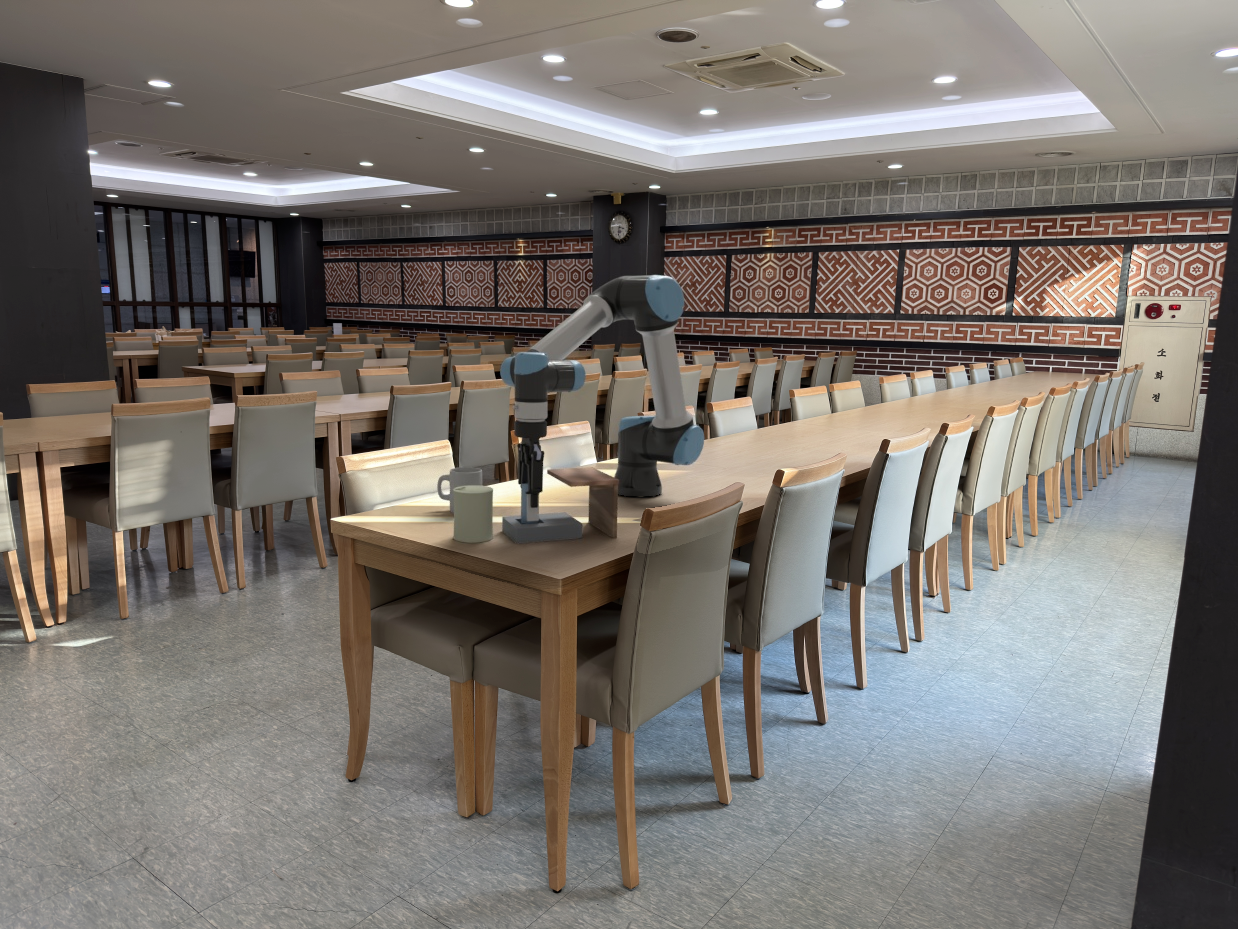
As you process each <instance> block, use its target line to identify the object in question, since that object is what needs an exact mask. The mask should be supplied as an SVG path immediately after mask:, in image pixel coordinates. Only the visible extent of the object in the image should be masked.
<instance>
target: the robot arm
mask: <svg viewBox="0 0 1238 929" xmlns="http://www.w3.org/2000/svg"><path fill="white" fill-rule="evenodd" d="M684 307H685V296H684V291H683V290H682V287H681V286H680V284H679V283H678V281H677V280H675V279H674V278H673V277H671V276H669V275H662V274H661V275H660V274H651V275H649V274H648V275H647V274H646V275H622V276H619V277H616V278H614V279H612V280H610V281H608V282H606V283H605V284H603V285H601V286H599V287H598V288H597V289H595V290H594V291H593V292H591V293H590V294H589V295H588V296H587V297H585V298H584V300H583V305H582V306H580V307H579V308H578V309H577V310H576V311H574V312H573V313H572V314H571V315H570V316H568V317H567V318H566V319H565V320H563V321H562V322H561V323H560V324H558V325H557V326H556V327H555V328H554V329H552V330H551V331H550V332H549V333H547V334H546V335H545V336H544V337H542V338H541V339H540V340H539V341H538V342H536V343H535V344H534V345H533V346H531V347H530V348H529V349H528V350H526V351H520V352H518V353H516V355H514V356H509V357H507V358H505V359H504V360H503V361H502V363H501V366H500V369H499V371H500V373H499V374H500V377H501V380H502V381H503V383H504V384H505V385H507V386H509V387H513V388H514V405H512V410H513V411H514V418H515V419H516V420H515V421H514V424H513V425H514V427H513V428H514V432H513V433H514V436H515V437H517V438H521V442H519V443H517V445H516V446H517V447H516V448H517V465H518V466H517V470H518V472H517V473H518V474H517V477H518V478H517V479H518V480H517V483H518V485H519V487H520V488H521V484H524V483H528V492H525V493H526V494H527V521H539V514H540V493H543V485H544V484H543V482H544V459H545V451H544V450H542V447H541V446H542V445H541V442H540V439H541V438H542V439H543V438H545V437H547V435H548V422H547V421H546V419H547V418H548V394H549V393H566V392H567V393H571V392H574V391H579V390H580V389H581V388H583V386H584V384H585V382H586V378H587V377H586V370H585V367H584V366H583V364H582V363H581V362H579V361H578V360H573V359H566V358H567V357H568V356H569V355H570V354H571V353H573V352H574V351H575V350H577V348H579V346H581V345H582V344H583V343H585V341H587V340H588V339H589V338H590V337H592V336H593V335H594V334H595V333H597V331H599V330H600V329H601V328H607V327H609V326H610V325H611V324H613V323H615V322H617V321H623V320H630V321H633V322H634V329H635V331H636V332H637V333H639V334H640V335H641V337H642V342H643V347H644V353H645V359H646V363H647V371H648V375H649V376H648V377H649V382H650V383H649V384H650V387H651V388H650V389H651V394H652V400H653V405H654V406H653V407H654V412H655V415H654V414H653V415H651V414H650V415H635V416H626V417H622V418H620V420H619V424H618V431H617V434H618V435H617V437H618V441H617V442H618V443H617V444H618V445H617V446H618V447H617V450H618V451H617V468H616V471H615V474H614V476H613V477H614V478H616V479H618V480H619V484H618V494H619V495H618V496H620V495H624V496H623V497H626V496H653V497H656V496H655V495H658V496H660V495H661V493H662V492H663V486H662V482H661V479H660V475H659V470H658V462H660V463H667V464H672V465H675V466H690V465H693V464H694V463H695V462H697V460H698V459H699V457H700V455H702V454H701V453H702V451H703V448H704V446H705V434H704V430H703V428H701V426H699V425H696V424H694V418H693V414H691V412H689V411H687V407H686V401H685V395H684V389H683V388H684V387H683V383H682V382H683V381H682V375H681V369H680V362H679V356H678V349H677V343H676V336H675V331H674V330H675V328H676V327H677V326H678V324H679V318H681V317H682V314H683V313H684V309H683V308H684ZM564 359H565V360H564ZM659 494H660V495H659ZM662 494H663V493H662Z"/></svg>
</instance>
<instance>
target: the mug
mask: <svg viewBox="0 0 1238 929" xmlns="http://www.w3.org/2000/svg"><path fill="white" fill-rule="evenodd" d="M444 481H447V482H449V493H448V494H447V493H446V494H445V493H444V492H443V490H442V484H443V482H444ZM436 485H437V487H436V489H437V495H438V496H439V498H440V499H441V500H444V501H448V502H449V511H450V513H452V514H454V494H453V489H454V488H456V487H460V486H468V485H480V486H483V470H482V469H481V468H479V467H471V466H469V467H468V466H465V467H464V466H463V467H462V466H461V467H454V468H451V469H450V470H449V473H447V474H442V475H441V476H440V477H438V480H437V484H436Z"/></svg>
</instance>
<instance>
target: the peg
mask: <svg viewBox="0 0 1238 929" xmlns="http://www.w3.org/2000/svg"><path fill="white" fill-rule="evenodd" d="M520 485H521V487H520V515H521V524H522V525H523V524H536V523H538V521H527V494H526V493H525V492H528V483H524V484H520Z"/></svg>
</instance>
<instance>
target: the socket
mask: <svg viewBox="0 0 1238 929" xmlns="http://www.w3.org/2000/svg"><path fill="white" fill-rule="evenodd" d="M501 519H502V523H501V526H502V527H501V529H502V532H503V533H504V534H505V535H506V536H508V538H510V540H512V541H513V542H514V543H515V544H525V543H526V544H527V543H537V542H538V543H539V542H550V541H563V540H572V539H583V523H582V522H581V521H579V520H578V519H576V518H575V517H573V516H572V515H570V514H569V513H567V512H565V511H564V512H552V513H551V512H550V513H539V521H538V523H536V524H523V525H522V524H521V514H518V515H506V516H502V518H501Z"/></svg>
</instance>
